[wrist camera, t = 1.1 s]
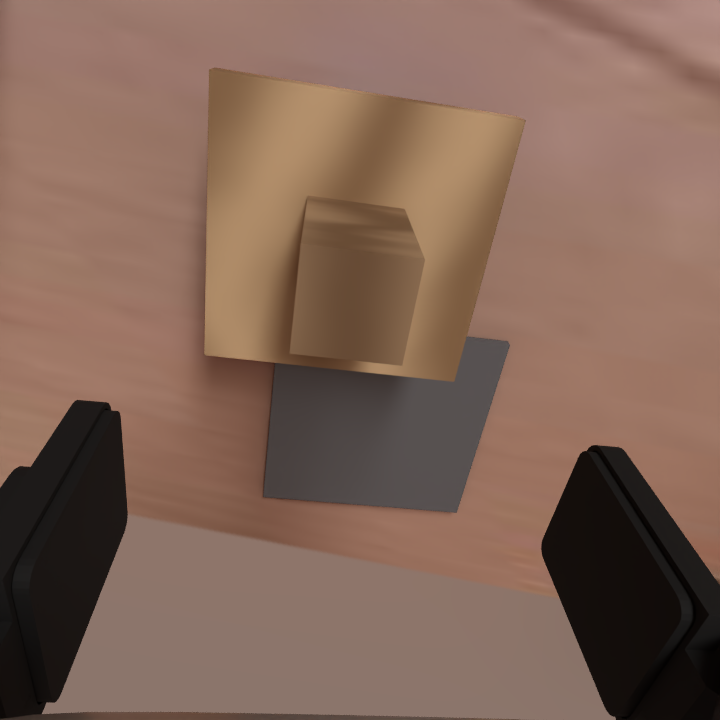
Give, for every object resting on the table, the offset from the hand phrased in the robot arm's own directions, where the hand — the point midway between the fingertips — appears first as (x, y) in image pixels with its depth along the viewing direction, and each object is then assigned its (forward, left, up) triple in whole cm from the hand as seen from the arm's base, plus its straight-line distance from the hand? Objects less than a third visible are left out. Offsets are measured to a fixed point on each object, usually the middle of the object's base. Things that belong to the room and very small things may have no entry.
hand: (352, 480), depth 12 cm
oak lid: (0, 0, -16) cm, 16 cm away
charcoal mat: (-4, +14, -22) cm, 26 cm away
